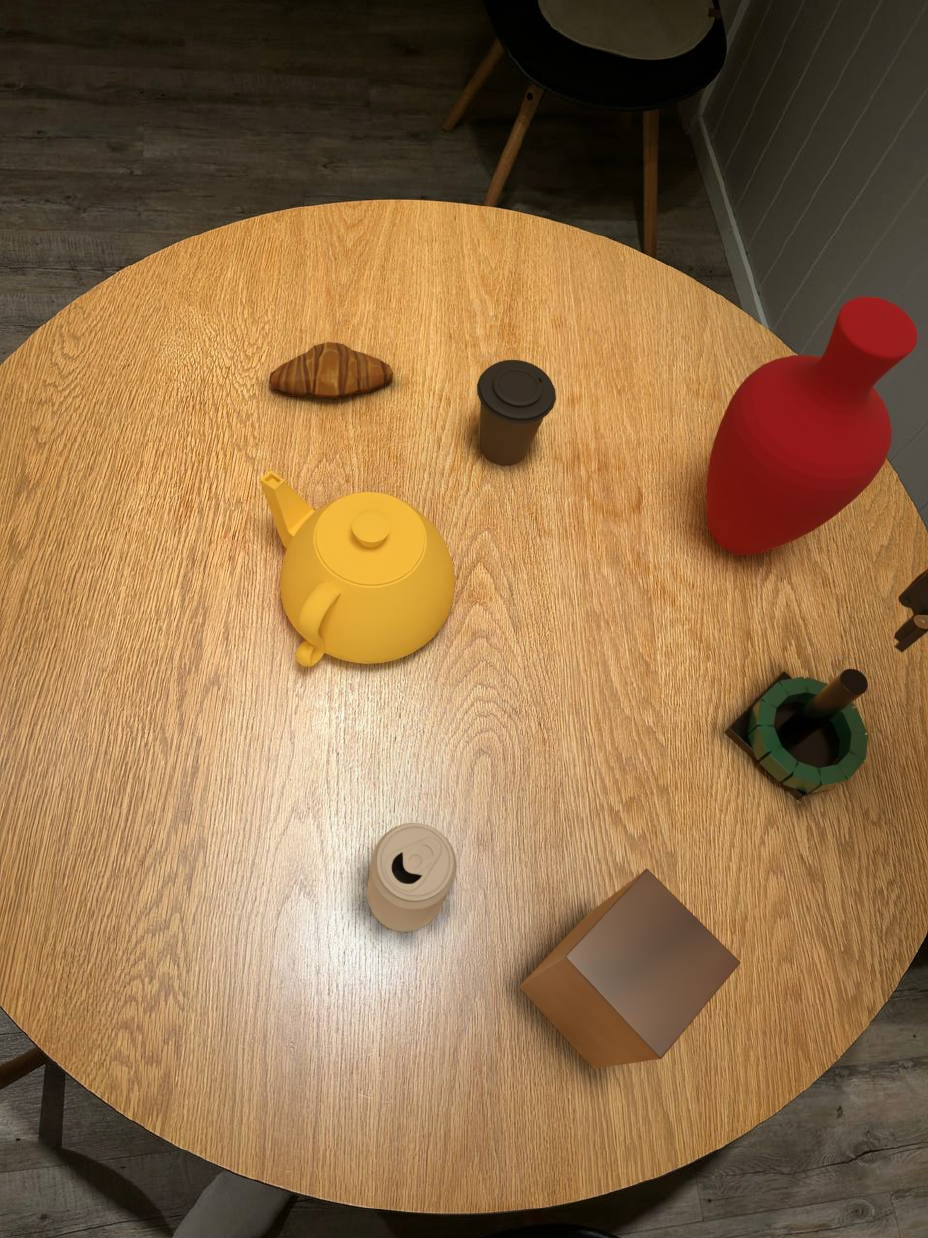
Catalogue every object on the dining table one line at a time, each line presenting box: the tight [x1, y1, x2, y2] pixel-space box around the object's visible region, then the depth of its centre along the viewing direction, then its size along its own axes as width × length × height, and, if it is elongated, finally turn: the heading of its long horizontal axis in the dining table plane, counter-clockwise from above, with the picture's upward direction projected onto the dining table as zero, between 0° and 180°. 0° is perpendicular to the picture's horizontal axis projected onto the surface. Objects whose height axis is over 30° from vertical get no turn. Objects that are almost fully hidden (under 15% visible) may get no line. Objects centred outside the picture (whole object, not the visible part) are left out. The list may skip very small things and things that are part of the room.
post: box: [724, 668, 869, 801], centre depth 84 cm, size 9×9×13 cm
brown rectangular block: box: [518, 868, 741, 1070], centre depth 69 cm, size 8×8×18 cm
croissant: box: [268, 341, 394, 400], centre depth 101 cm, size 14×7×5 cm, turn 101°
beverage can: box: [366, 822, 458, 933], centre depth 74 cm, size 6×6×12 cm
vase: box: [705, 296, 918, 556], centre depth 87 cm, size 15×15×30 cm
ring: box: [748, 676, 869, 794], centre depth 88 cm, size 10×10×2 cm
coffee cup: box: [476, 359, 557, 467], centre depth 98 cm, size 8×8×10 cm
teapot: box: [259, 469, 456, 668], centre depth 86 cm, size 20×19×13 cm
